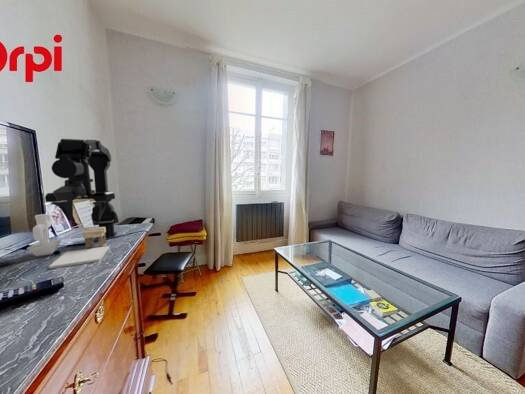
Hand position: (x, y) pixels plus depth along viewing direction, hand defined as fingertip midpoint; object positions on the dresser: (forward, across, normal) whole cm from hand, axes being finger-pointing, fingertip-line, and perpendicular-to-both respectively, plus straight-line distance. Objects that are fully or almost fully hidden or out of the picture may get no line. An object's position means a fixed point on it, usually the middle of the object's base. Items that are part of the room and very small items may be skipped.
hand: (84, 220), depth 72 cm
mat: (+14, -2, -1) cm, 14 cm away
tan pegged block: (+14, -4, +11) cm, 18 cm away
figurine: (+14, -18, +5) cm, 24 cm away
